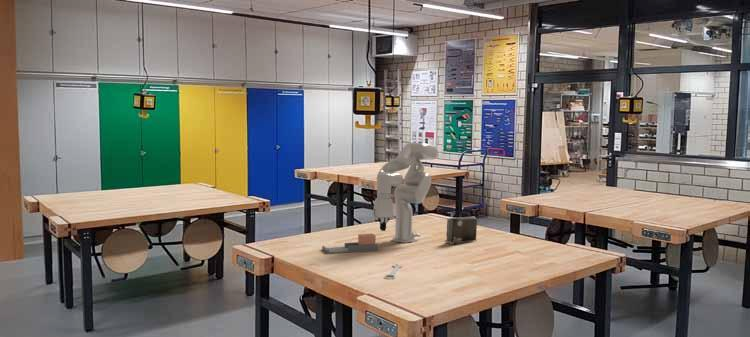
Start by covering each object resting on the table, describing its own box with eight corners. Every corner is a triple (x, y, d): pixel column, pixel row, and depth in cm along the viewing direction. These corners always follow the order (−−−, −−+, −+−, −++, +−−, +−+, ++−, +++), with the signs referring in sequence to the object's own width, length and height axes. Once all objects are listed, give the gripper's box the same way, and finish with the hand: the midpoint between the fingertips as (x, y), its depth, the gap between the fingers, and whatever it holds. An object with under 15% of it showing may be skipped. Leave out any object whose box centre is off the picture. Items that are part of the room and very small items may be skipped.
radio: (472, 238, 343) (473, 213, 341) (482, 241, 335) (483, 215, 334) (442, 242, 330) (442, 216, 328) (452, 245, 323) (452, 218, 321)
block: (372, 245, 314) (372, 233, 313) (375, 247, 309) (375, 235, 309) (358, 246, 311) (358, 234, 311) (361, 248, 307) (361, 236, 306)
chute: (372, 246, 317) (372, 240, 316) (378, 250, 307) (378, 244, 307) (322, 249, 307) (322, 244, 307) (327, 254, 298) (327, 248, 298)
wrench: (404, 267, 278) (393, 266, 279) (404, 264, 278) (393, 263, 279) (394, 280, 254) (382, 279, 255) (394, 277, 254) (382, 276, 255)
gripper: (394, 195, 317) (393, 228, 318) (368, 195, 312) (367, 229, 313) (399, 197, 310) (398, 231, 311) (373, 197, 305) (372, 232, 306)
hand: (382, 230), depth 312 cm, fingers closed
